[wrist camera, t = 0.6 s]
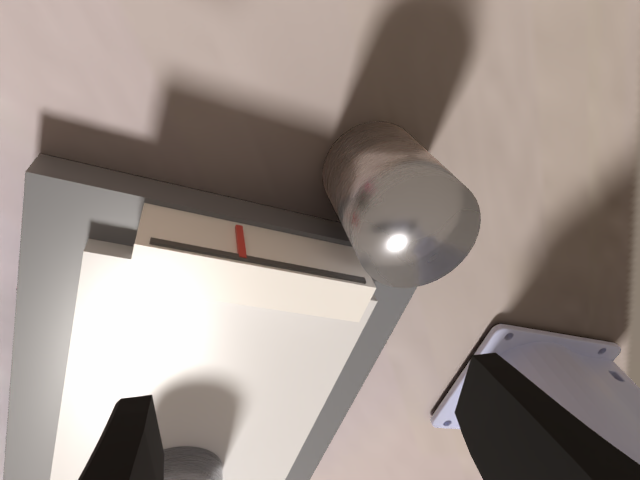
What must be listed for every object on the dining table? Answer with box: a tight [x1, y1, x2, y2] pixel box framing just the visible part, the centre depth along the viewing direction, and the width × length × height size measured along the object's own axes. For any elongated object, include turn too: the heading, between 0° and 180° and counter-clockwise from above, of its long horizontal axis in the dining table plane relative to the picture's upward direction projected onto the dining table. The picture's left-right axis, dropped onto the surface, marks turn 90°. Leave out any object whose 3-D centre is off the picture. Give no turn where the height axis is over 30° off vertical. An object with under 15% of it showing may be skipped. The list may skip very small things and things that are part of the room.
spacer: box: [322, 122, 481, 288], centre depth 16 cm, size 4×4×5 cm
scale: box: [3, 154, 417, 480], centre depth 20 cm, size 15×17×4 cm
